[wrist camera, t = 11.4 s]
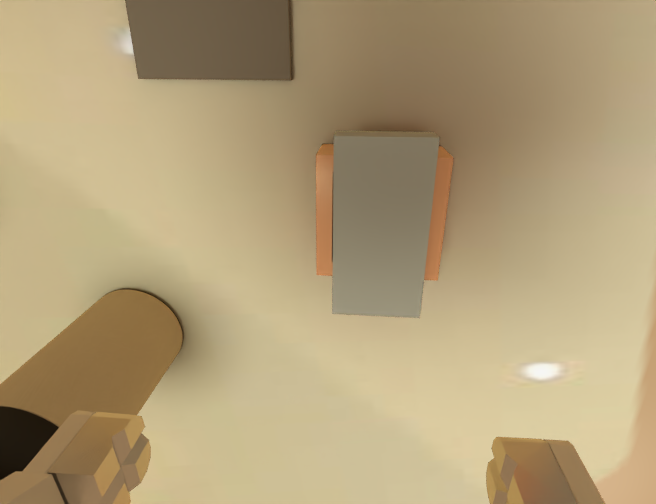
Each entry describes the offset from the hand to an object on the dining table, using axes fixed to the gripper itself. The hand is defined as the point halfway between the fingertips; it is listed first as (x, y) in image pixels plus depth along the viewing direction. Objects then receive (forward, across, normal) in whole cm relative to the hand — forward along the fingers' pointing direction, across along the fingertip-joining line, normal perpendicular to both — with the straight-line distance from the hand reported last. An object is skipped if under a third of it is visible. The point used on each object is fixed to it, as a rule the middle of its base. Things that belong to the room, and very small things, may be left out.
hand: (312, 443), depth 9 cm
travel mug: (+22, +18, +13) cm, 31 cm away
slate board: (+17, -2, +1) cm, 18 cm away
